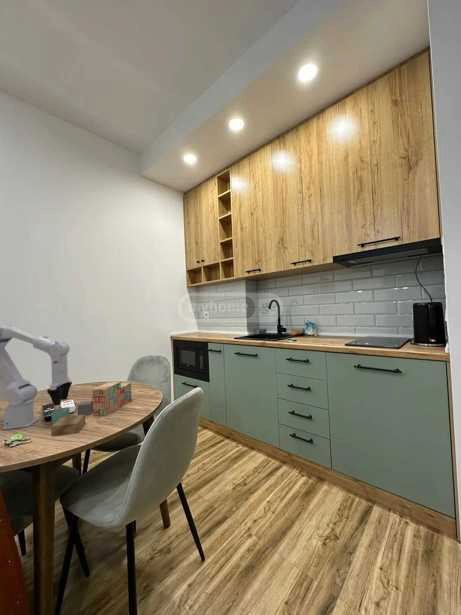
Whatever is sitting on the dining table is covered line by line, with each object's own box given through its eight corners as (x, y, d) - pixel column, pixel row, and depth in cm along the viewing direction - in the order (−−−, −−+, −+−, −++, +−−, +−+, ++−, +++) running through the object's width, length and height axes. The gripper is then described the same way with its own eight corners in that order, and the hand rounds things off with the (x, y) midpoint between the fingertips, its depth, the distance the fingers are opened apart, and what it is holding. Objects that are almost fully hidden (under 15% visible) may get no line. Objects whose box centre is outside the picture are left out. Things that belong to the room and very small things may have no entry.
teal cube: (51, 424, 107) (51, 412, 107) (57, 420, 112) (56, 408, 112) (65, 422, 108) (64, 411, 108) (69, 418, 113) (69, 407, 113)
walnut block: (51, 437, 96) (51, 426, 96) (61, 427, 104) (61, 417, 105) (77, 433, 98) (77, 423, 98) (85, 424, 106) (85, 414, 107)
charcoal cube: (77, 416, 115) (77, 405, 115) (81, 412, 120) (81, 401, 120) (90, 415, 116) (89, 404, 116) (93, 411, 121) (93, 400, 121)
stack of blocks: (121, 400, 136) (120, 377, 136) (131, 400, 135) (131, 377, 135) (92, 416, 115) (92, 388, 115) (105, 416, 114) (104, 388, 114)
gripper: (63, 373, 105) (64, 406, 104) (75, 366, 119) (76, 396, 118) (43, 375, 103) (44, 409, 103) (58, 368, 117) (59, 398, 117)
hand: (60, 402), depth 110 cm, fingers open, 7 cm apart
